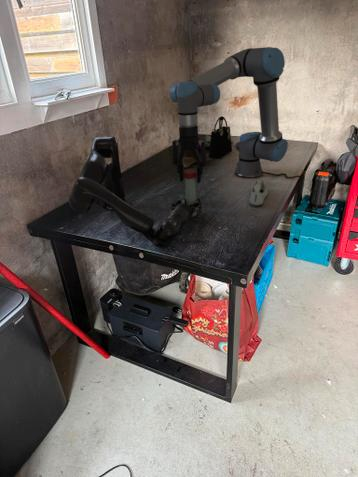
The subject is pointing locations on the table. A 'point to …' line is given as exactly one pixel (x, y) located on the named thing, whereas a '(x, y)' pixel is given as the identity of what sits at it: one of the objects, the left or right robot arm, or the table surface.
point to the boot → (188, 158)
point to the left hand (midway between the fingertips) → (193, 199)
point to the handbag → (220, 140)
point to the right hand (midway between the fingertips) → (190, 181)
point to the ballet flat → (258, 193)
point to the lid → (190, 174)
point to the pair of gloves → (209, 141)
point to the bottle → (190, 192)
